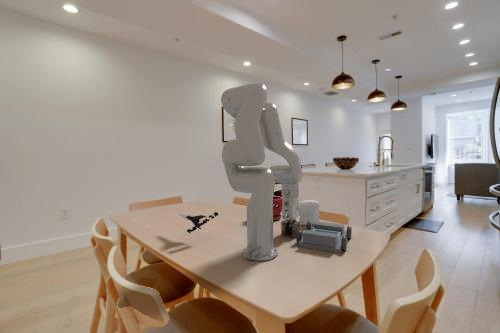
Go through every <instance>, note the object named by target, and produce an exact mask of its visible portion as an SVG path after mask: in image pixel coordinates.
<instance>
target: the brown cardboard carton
mask: <svg viewBox="0 0 500 333" xmlns="http://www.w3.org/2000/svg"><path fill="white" fill-rule="evenodd" d="M288 222H289V223H290V221H288ZM280 226H281V228H280V230H281V232H280V234H281V236H282V237H289V238H294V239H296V235H297V231H298V230H300V229H301V227H300V226H301V225H300V221H298V220H296V221H292V224H291V227H292V236H288V235H285V224H284V222H283V220H282V221H281V222H280Z"/></svg>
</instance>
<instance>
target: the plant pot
mask: <svg viewBox="0 0 500 333" xmlns="http://www.w3.org/2000/svg"><path fill="white" fill-rule="evenodd" d="M282 203H283V197H282V196H275V195H273V221H278V220H281V218H283V217H282Z"/></svg>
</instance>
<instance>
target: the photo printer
mask: <svg viewBox="0 0 500 333" xmlns="http://www.w3.org/2000/svg"><path fill="white" fill-rule="evenodd" d="M319 202H320V201H317V200H314V199H309V200H308V199H305V200H302V201H299V216H298V218H299V219H298V220H299V221H300V226H306V225H307V222H308V221H309V222H312V226H314V224H315V223H316V222H317V221H319V222H320V203H319Z"/></svg>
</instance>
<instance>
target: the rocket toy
mask: <svg viewBox="0 0 500 333" xmlns="http://www.w3.org/2000/svg"><path fill="white" fill-rule="evenodd" d="M178 215H179V216H180V217H182V218H184V219H186V220H188V221H191V222H192V225H194V226H193V227H191V228H188V229H187V230H186V232H187V233H188V234H191V233H192V232H194V231H196V230H197V229H199V230H202V228H201V227H202V226H203V225H205V224H207V223H208V222H210V219H211V220H212V219H214V218H216V217H217V216H219V213H218V211H215V212H213V215H212V214H210V215H209V216H208V218H207V216H206V215H202V214H200V215H193V216H191V215H187V214H185V213H178ZM203 218H205V219H203ZM201 219H203V220H202V221H201V222H200V220H201Z"/></svg>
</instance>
